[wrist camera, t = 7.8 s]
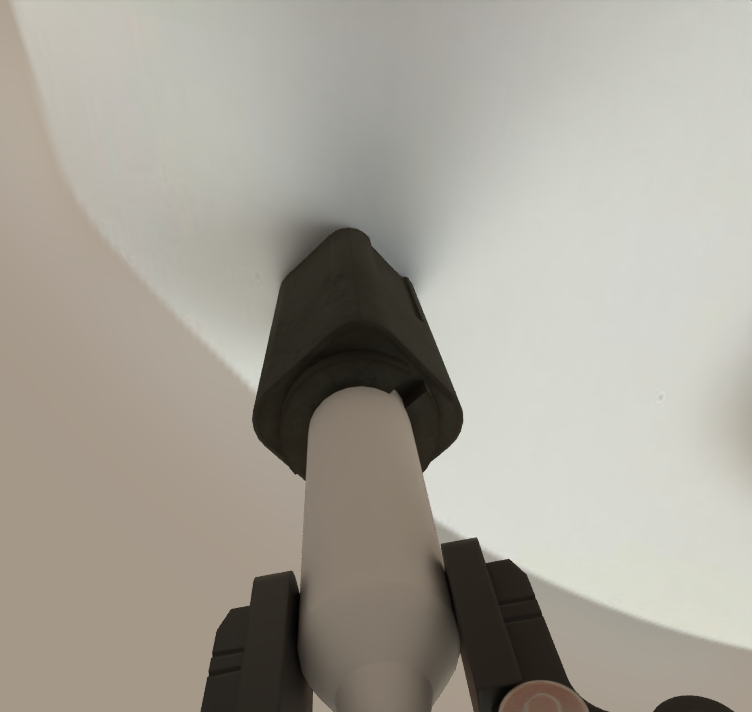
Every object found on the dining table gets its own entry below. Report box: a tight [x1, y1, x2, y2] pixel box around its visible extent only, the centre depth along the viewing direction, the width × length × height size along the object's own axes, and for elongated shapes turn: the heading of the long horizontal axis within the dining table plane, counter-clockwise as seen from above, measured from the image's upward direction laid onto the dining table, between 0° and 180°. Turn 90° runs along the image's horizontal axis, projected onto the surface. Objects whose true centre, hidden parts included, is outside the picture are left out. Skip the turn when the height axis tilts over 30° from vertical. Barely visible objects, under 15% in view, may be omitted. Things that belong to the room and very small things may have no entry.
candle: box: [252, 228, 463, 712], centre depth 21 cm, size 5×5×25 cm
